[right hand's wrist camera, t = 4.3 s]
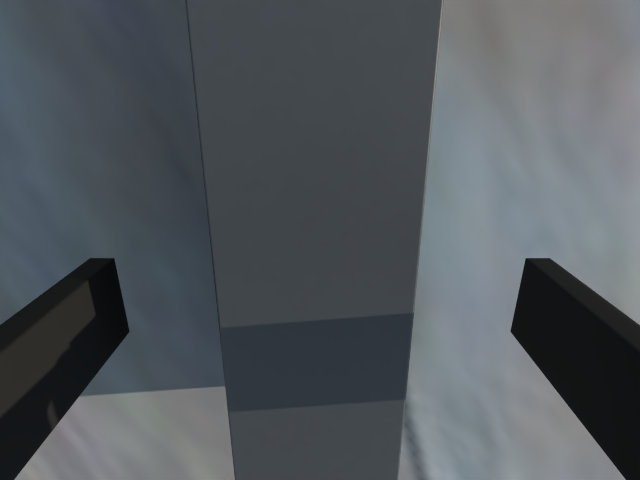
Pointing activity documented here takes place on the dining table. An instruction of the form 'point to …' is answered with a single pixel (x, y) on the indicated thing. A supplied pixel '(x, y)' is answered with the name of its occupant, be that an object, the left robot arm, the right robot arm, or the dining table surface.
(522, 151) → the dining table surface
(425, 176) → the beam
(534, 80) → the dining table surface
